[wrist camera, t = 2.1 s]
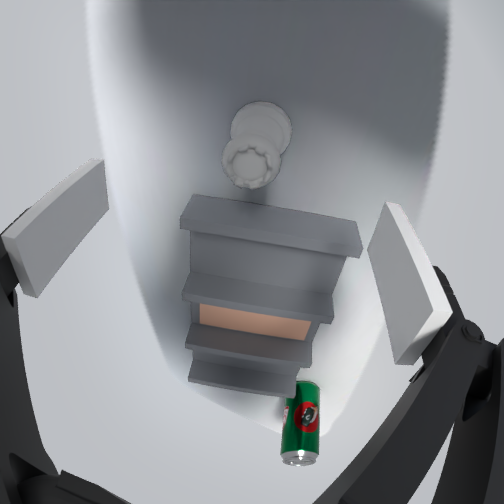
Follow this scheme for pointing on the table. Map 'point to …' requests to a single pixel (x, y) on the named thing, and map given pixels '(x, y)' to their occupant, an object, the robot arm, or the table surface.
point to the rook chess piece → (256, 144)
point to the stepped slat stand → (259, 290)
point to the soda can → (301, 425)
